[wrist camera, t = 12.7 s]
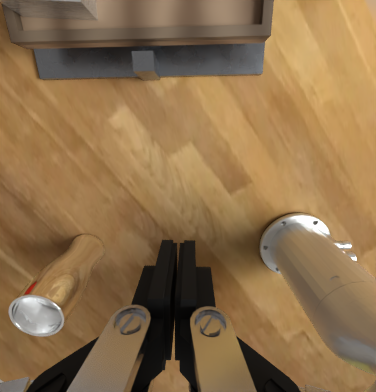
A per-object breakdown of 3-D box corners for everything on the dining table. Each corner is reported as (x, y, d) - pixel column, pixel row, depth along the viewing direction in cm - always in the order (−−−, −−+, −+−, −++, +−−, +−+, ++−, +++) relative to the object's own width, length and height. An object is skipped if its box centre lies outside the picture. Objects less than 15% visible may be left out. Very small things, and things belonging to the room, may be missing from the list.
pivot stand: (270, -59, 27) (297, -118, 20) (259, 78, 32) (279, 68, 25) (16, -54, 27) (-40, -110, 20) (45, 83, 32) (8, 74, 25)
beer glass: (64, 233, 40) (-3, 296, 26) (102, 229, 40) (56, 291, 25) (75, 265, 42) (18, 340, 28) (110, 262, 42) (72, 335, 28)
